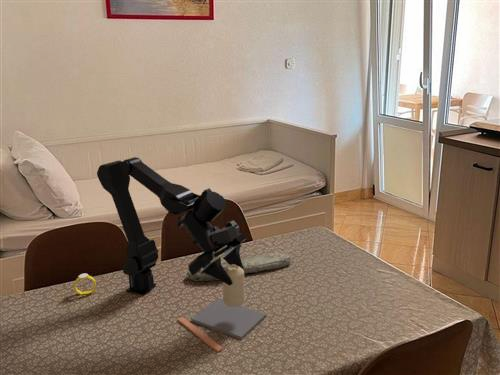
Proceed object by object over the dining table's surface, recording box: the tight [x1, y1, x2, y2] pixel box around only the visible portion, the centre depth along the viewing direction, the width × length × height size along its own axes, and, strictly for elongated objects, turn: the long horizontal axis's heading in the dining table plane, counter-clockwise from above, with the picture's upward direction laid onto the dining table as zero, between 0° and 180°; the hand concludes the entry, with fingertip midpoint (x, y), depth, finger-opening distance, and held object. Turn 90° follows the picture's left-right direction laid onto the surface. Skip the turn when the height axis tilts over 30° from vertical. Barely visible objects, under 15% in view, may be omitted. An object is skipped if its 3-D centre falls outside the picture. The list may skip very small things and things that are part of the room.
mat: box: [190, 298, 267, 340], centre depth 127 cm, size 16×12×1 cm
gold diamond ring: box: [73, 272, 97, 296], centre depth 141 cm, size 6×3×6 cm, turn 105°
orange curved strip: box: [177, 316, 224, 353], centre depth 120 cm, size 18×2×1 cm, turn 40°
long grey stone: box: [186, 252, 292, 282], centre depth 153 cm, size 35×5×10 cm
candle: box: [222, 264, 246, 307], centre depth 123 cm, size 6×6×10 cm
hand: (237, 279), depth 121 cm, fingers closed on candle, 5 cm apart
